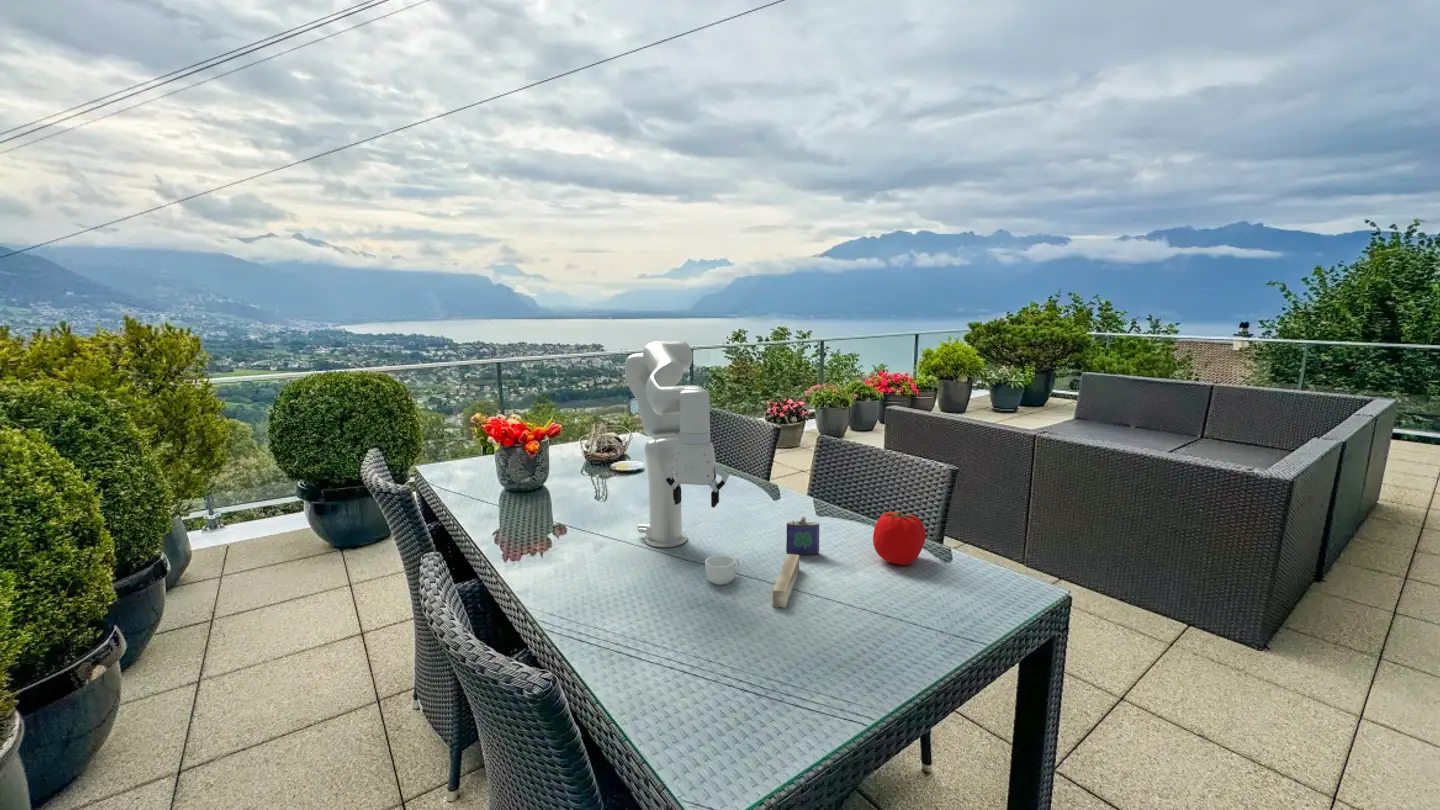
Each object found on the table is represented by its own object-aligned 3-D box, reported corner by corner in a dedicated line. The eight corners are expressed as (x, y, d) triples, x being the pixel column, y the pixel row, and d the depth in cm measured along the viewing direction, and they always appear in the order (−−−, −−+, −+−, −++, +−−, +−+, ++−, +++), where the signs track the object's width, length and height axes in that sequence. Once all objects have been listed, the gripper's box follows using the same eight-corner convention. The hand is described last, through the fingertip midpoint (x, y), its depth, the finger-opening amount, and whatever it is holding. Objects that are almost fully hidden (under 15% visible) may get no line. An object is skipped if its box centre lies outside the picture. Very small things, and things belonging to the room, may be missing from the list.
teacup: (717, 590, 142) (717, 569, 141) (699, 580, 148) (698, 559, 147) (748, 579, 148) (748, 559, 147) (730, 569, 154) (729, 550, 153)
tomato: (893, 574, 150) (895, 523, 148) (859, 555, 162) (861, 508, 161) (939, 564, 156) (941, 515, 154) (904, 546, 169) (905, 501, 167)
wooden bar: (772, 606, 134) (772, 590, 133) (787, 568, 155) (787, 553, 154) (785, 608, 133) (785, 591, 132) (799, 569, 154) (799, 554, 153)
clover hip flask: (818, 551, 166) (819, 515, 164) (819, 556, 163) (820, 519, 161) (785, 551, 166) (786, 515, 165) (786, 555, 163) (786, 518, 162)
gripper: (657, 439, 145) (658, 506, 147) (724, 442, 140) (725, 511, 142) (667, 434, 152) (669, 498, 154) (732, 436, 147) (732, 502, 150)
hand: (696, 504), depth 148 cm, fingers open, 9 cm apart
